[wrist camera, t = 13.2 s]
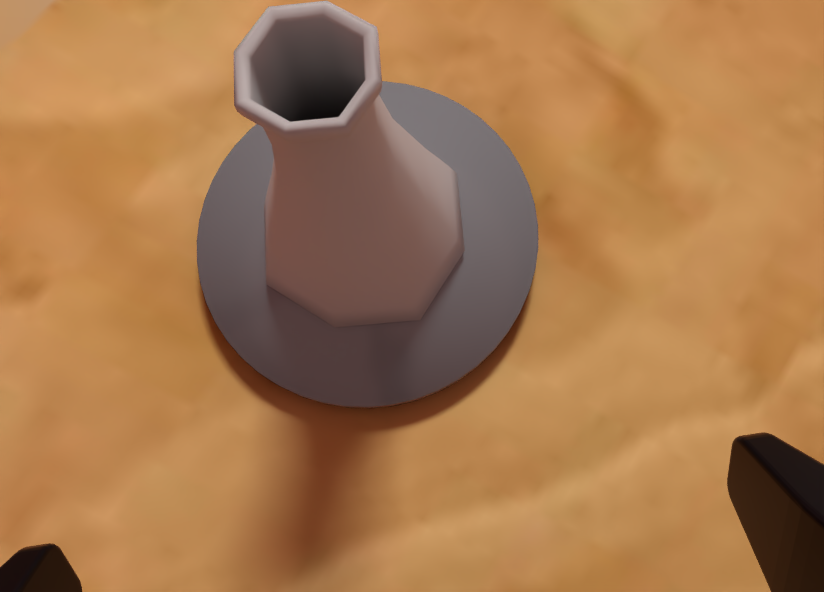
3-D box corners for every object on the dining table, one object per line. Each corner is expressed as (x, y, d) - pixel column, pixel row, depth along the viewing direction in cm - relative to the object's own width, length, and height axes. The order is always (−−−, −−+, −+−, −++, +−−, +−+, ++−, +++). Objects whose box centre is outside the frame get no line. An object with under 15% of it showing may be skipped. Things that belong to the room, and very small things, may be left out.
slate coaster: (548, 402, 22) (551, 399, 22) (196, 414, 23) (187, 412, 22) (523, 84, 26) (525, 72, 25) (212, 101, 26) (205, 89, 25)
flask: (295, 119, 25) (197, -104, 15) (487, 158, 24) (514, -51, 14) (235, 305, 23) (83, 187, 13) (440, 353, 22) (435, 266, 13)
